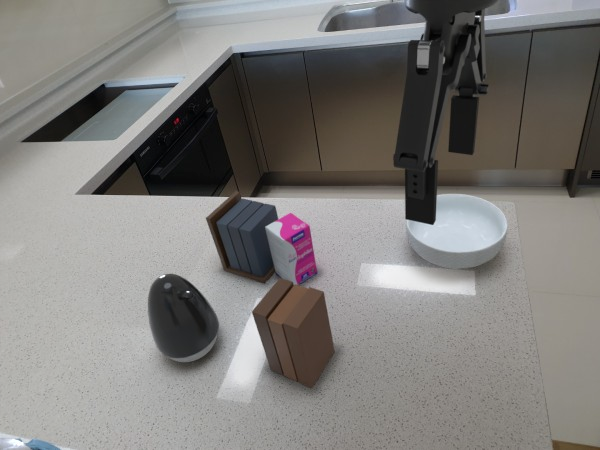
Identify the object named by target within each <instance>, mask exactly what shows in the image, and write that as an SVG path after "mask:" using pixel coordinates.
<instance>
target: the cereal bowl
mask: <svg viewBox="0 0 600 450" xmlns="http://www.w3.org/2000/svg"><path fill="white" fill-rule="evenodd" d="M508 228H509V225H508V219H507V216H506V215H505V214H504V212H503V211H502V210H501V209H500V208H499V207H498V206H497V205H495V204H494V203H492V202H491V201H489V200H486V199H484V198H481V197H479V196H475V195H471V194H464V193H442V194H437V202H436V221H435V223H434V225H430V224H425V223H421V222H416V221H411V220H407V219H405V231H406V237H407V240H408V242H409V245H410V246H411V248H412V249H413V250H414V252H415V253H416V254H418V256H420V257H421V259H424V260H425V261H427V262H429V263H431V264H433V265H435V266H439V267H442V268H446V269H447V268H448V269H455V270H456V269H458V270H459V269H469V268H474V267H477V266H480V265H483V264H485V263H488V262H489V261H490V260H492V259H493V258H494V257H495V256H496V255H498V254H499V252H501V250H502V248H503V246H504V245H505V242H506V239H507V235H508Z"/></svg>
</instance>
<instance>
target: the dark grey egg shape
mask: <svg viewBox="0 0 600 450" xmlns="http://www.w3.org/2000/svg"><path fill="white" fill-rule="evenodd" d="M147 316H148V324H149V329H150V332H151V336H152V339H153V342H154V344H155V347H156V348H157V350H158V351H159V352H160V353H161V354H162V355H164V356H165V357H167V358H169V359H170V360H171V361H175V362H177V363H178V362H179V363H190V362H195V361H197V360H199V359H201V358H203V357H204V356H206V355H207V354H208V353H209V352H210V351H211V350H212V348H213V347H214V346H215V344H216V341H217V339H218V334H219V328H220V321H219V317H218V315H217V313H216V311H215V309H214V308H213V307H212V304H211V303H210V301H209V300H208V299H207V298H206V296H204V294H203V293H202V292H201V291H200V290H199V288H197V287H196V286H195V285H194V284H193V283H192V282H191V281H189V280H188V279H187V278H185V277H183V276H181V275H178V274H176V273H165V274H162V275H160V276H158V277H157V278H156V279H155V280H154V281H153V282H152V284H151V286H150V288H149V292H148V295H147Z"/></svg>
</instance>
